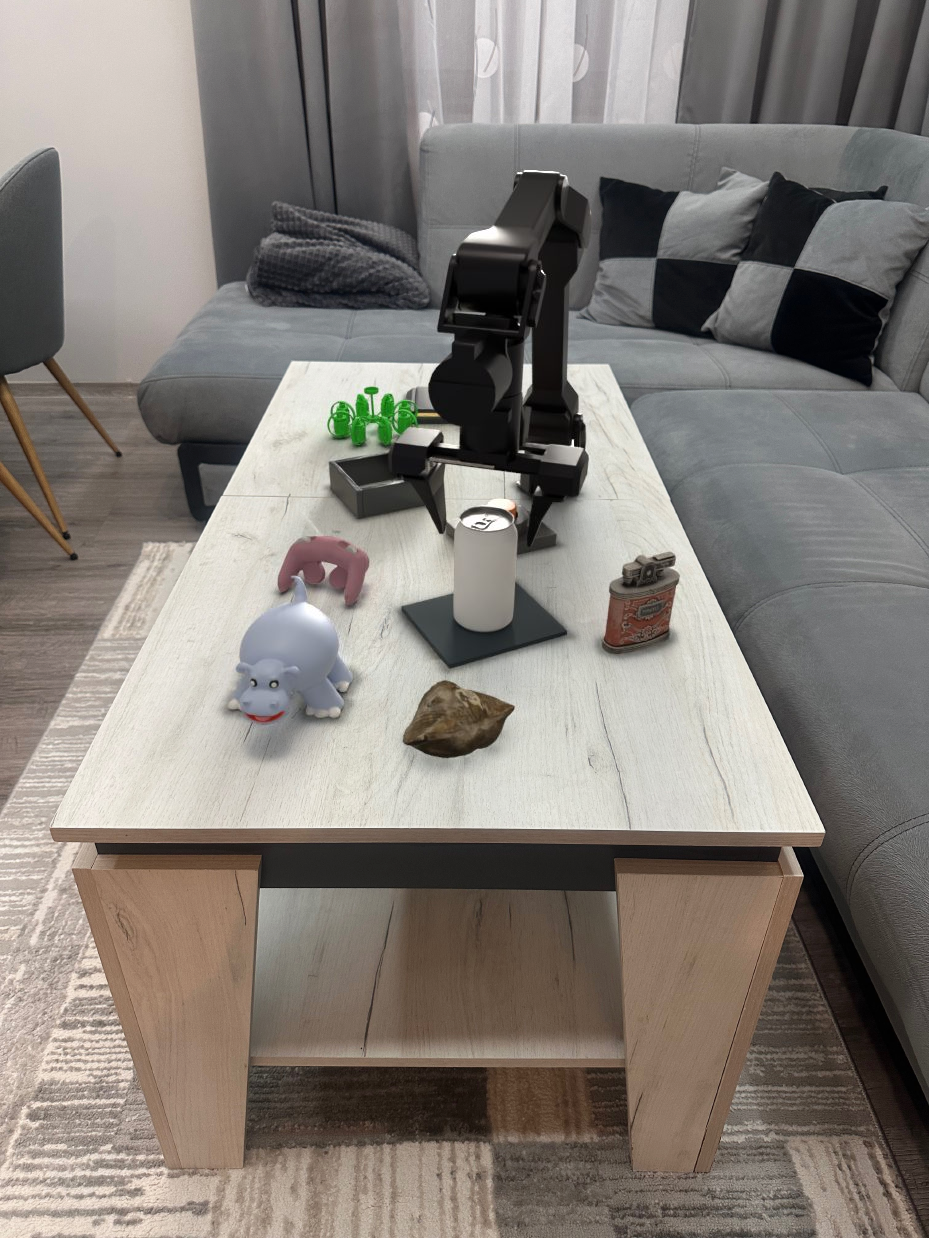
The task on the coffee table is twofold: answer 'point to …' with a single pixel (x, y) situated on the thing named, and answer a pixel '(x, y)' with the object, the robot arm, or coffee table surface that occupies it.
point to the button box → (520, 532)
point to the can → (484, 568)
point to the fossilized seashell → (456, 721)
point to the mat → (470, 646)
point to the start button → (504, 505)
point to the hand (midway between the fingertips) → (485, 538)
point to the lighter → (641, 604)
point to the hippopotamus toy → (290, 663)
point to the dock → (373, 497)
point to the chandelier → (371, 417)
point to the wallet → (423, 406)
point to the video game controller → (330, 550)
